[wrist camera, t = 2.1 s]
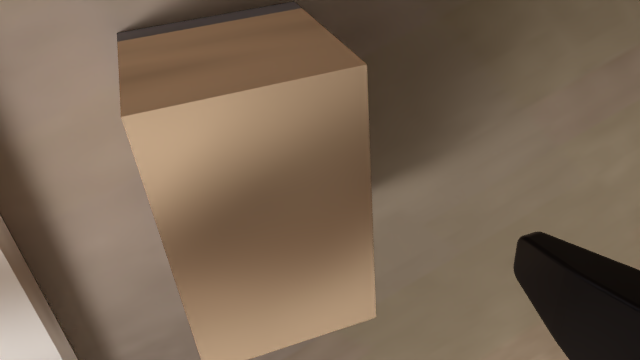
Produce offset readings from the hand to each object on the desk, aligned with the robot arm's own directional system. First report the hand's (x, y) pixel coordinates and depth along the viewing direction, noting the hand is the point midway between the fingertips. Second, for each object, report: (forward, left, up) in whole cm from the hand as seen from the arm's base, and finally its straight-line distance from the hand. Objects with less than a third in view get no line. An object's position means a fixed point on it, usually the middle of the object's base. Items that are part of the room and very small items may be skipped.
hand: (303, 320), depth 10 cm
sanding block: (0, 0, -7) cm, 7 cm away
